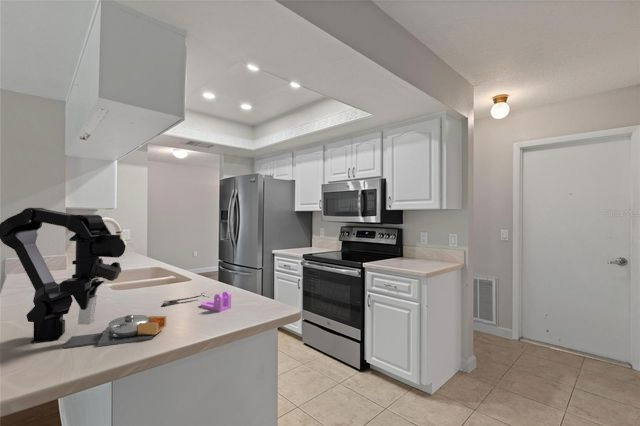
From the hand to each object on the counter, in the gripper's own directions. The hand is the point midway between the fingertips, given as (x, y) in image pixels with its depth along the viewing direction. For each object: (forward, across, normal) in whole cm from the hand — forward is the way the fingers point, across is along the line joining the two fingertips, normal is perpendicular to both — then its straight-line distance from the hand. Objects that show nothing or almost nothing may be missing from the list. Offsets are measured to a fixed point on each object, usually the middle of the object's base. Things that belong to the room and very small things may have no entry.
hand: (86, 307), depth 93 cm
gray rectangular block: (+4, 0, 0) cm, 5 cm away
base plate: (+10, +3, -11) cm, 15 cm away
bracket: (+10, +26, -35) cm, 45 cm away
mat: (+10, 0, 0) cm, 10 cm away
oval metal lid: (+9, +2, -13) cm, 16 cm away
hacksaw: (+11, +41, -22) cm, 48 cm away
